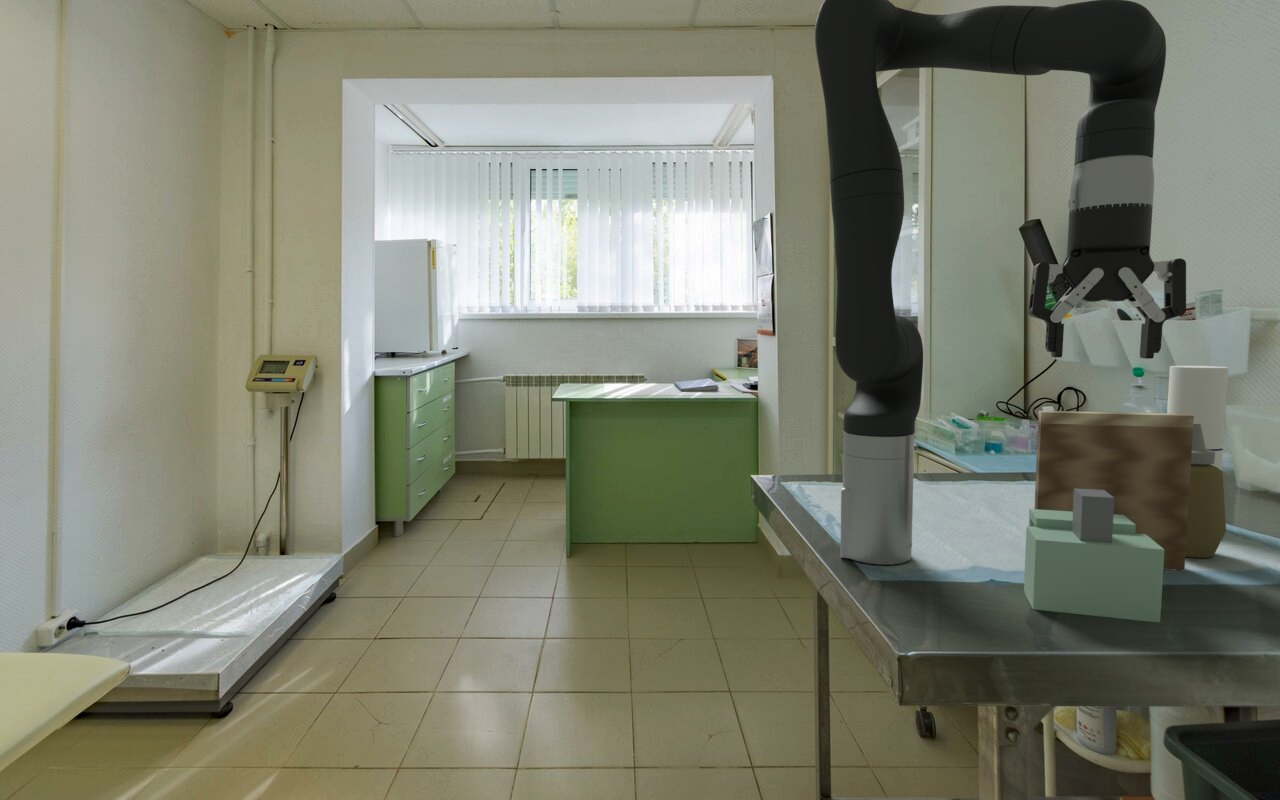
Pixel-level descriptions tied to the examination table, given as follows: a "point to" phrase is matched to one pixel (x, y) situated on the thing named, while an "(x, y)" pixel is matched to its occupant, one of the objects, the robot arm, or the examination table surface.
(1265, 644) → the examination table surface
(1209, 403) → the cylindrical container
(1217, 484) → the squeeze bottle
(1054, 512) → the green box
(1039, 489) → the wall board
